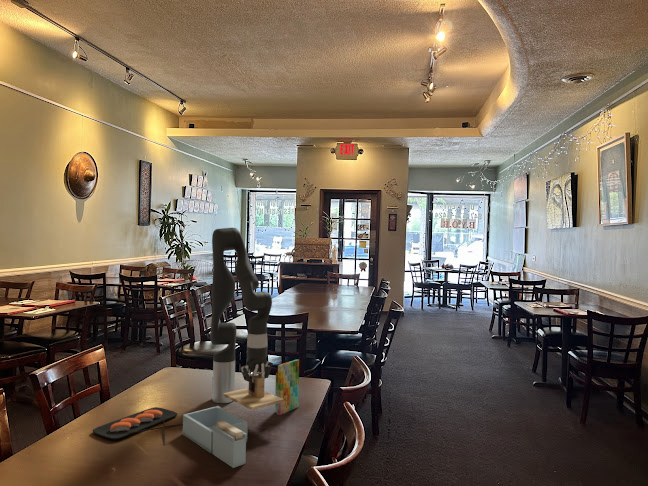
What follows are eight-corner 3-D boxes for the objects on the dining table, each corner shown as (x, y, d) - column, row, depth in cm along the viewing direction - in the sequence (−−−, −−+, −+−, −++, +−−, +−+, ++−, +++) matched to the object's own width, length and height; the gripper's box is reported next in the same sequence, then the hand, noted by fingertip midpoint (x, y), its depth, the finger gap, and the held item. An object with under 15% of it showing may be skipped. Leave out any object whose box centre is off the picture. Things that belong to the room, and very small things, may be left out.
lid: (223, 395, 178) (223, 374, 178) (253, 389, 187) (253, 368, 187) (252, 410, 163) (252, 387, 163) (283, 401, 172) (283, 380, 173)
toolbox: (182, 434, 167) (182, 408, 167) (217, 424, 177) (218, 400, 177) (232, 468, 143) (232, 438, 143) (269, 454, 152) (270, 426, 152)
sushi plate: (155, 410, 191) (155, 401, 191) (210, 426, 176) (210, 416, 176) (88, 435, 166) (88, 424, 166) (145, 456, 151) (145, 444, 151)
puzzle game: (281, 416, 186) (282, 365, 186) (272, 413, 189) (273, 363, 189) (299, 407, 196) (300, 360, 196) (291, 405, 199) (292, 358, 199)
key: (216, 428, 153) (216, 421, 153) (222, 426, 154) (222, 420, 154) (235, 439, 144) (236, 433, 144) (242, 437, 146) (242, 431, 146)
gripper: (246, 349, 169) (245, 397, 169) (278, 344, 178) (277, 389, 178) (235, 345, 174) (234, 392, 174) (266, 341, 184) (265, 385, 184)
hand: (256, 390), depth 176 cm, fingers closed on lid, 3 cm apart
